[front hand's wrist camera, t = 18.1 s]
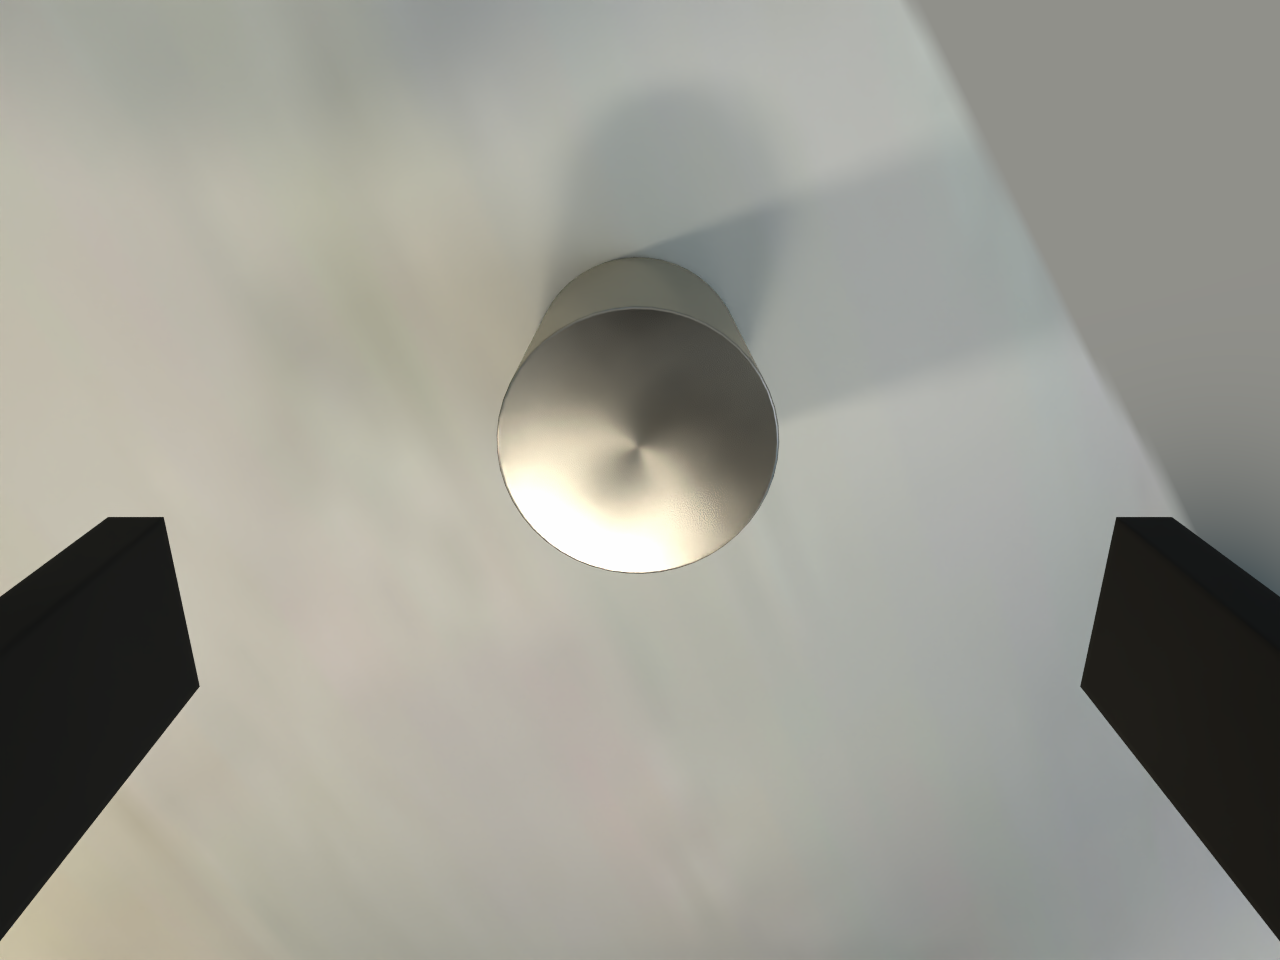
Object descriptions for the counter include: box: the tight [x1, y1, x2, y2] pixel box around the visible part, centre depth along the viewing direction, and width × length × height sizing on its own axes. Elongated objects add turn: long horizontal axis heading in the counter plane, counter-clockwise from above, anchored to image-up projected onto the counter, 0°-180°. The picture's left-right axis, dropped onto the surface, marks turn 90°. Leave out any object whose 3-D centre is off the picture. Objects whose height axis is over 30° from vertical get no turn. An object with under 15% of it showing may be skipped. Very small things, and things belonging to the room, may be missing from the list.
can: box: [497, 257, 779, 574], centre depth 23 cm, size 6×6×8 cm
